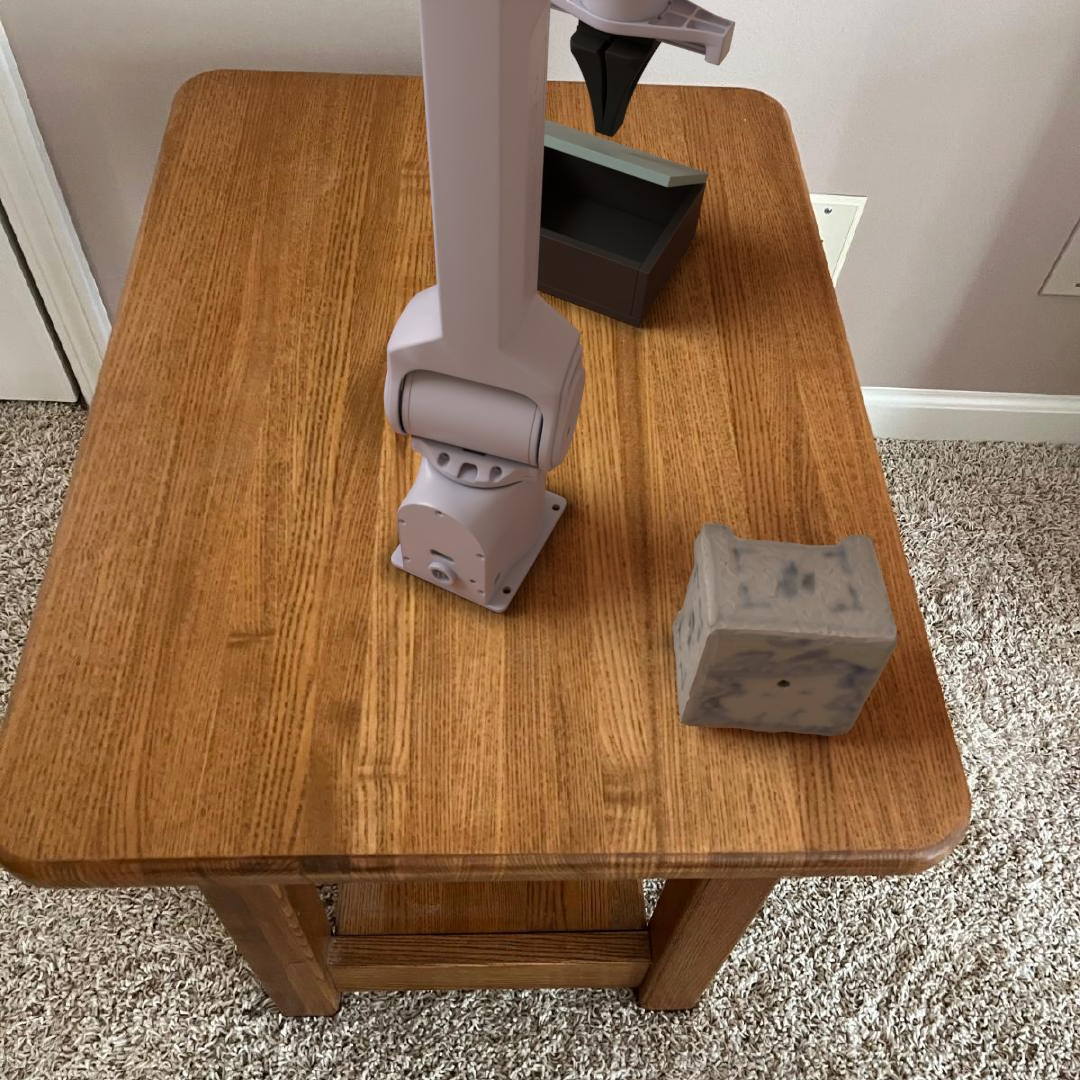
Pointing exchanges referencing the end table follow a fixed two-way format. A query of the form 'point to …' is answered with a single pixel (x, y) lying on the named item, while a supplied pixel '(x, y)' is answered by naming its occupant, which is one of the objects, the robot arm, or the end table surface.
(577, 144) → the lid
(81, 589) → the end table surface
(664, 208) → the case
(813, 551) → the incense holder
